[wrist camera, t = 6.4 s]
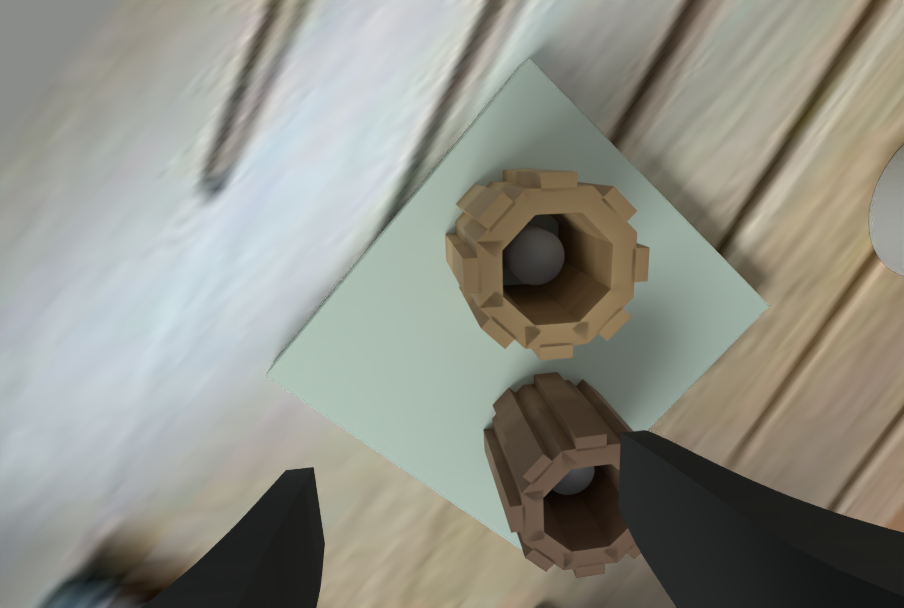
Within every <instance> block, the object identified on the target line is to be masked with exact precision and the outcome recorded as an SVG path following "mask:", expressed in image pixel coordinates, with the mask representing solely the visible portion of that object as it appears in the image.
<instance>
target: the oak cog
mask: <svg viewBox="0 0 904 608" xmlns="http://www.w3.org/2000/svg"><path fill="white" fill-rule="evenodd" d="M456 205H457V206H458V207H459V208H460V209H461V210H462V211H463V213H462V214H461V215H460V216H459V217H458V219H457V220H456V221H455V228H456V233H453V234H445V246H446V261H447V263H448V265H449V267H450V269H451V270H452V272H453V274H454V276H455V278H456V279H457V281H458V283H459V285H460V286H459V289H460V290H461V292H462V294H463V296H464V298H465V300H466V302H467V304H468V305H469V307H470V309H471V311H472V313H473V315H474V317H475V319H476V320H477V322H478V324H479V326H480V328H481V329H482V330H483V331H484V332H486V333H487V334H488V335H489V336H490V337H491V338H493V339H494V340H495V341H496V342H497V343H498V344H500V345H501V346H502V347H503V348H504V349H506V348H507V347H508V346H509V345H510V344H511V343H512V342H513V340H514V339H515V340H516V341H517V342H518V343H519V344H520V345H521V346H523V347H524V348H525V349H530V348H531V349H532V350H533V351H534V353H535V354H536V355H537V357H538V358H539V359H540V360H550V359H562V358H573V345H580V344H588V343H589V342H590V341H591V340H592V339H593V338H594V337H595V336H596V335H597V334H599V335H601V336H602V337H603V338H604V339H605V340H607V341H608V340H609V339H610V338H611V337H612V336H613V335H614V334H615V333H616V332H617V331H618V330H619V329H620V328H621V327H622V326H623V325H624V324H625V323H626V322H627V321H628V320H629V319H630V318H631V316H630V315H629V314H628V313H627V312H626V311H625V310H624V309H623V307H624V306H625V305H626V304H627V303H628V302H629V301H630V300H631V299H632V298H633V297H634V282H645V281H648V267H649V252H650V247H647V246H644V245H641V244H638V243H637V231H636V230H635V229H634V228H633V227H632V226H631V225H630V224H629V223H628V222H627V221H628V220H629V219H630V218H631V217H632V216H633V215H634V214H635V213H636V212H637V210H636V209H635V208H634V207H633V206H632V205H631V204H630V203H629V202H628V200H627V199H626V198H625V197H624V196H623V195H622V194H621V193H620V192H619V191H618V190H617V189H616V188H615V187H614V186H607V185H599V184H591V183H582V182H577V172H575V171H560V170H544V169H509V170H503V181H495V182H490V183H489V184H488V185H487V186H486V187H485V186H481V185H478V184H473V186H472V187H471V188H470V189H469V190H468V191H467V192H466V193H465V194H464V196H463V197H462V198H461V199H460V200H459V201H458V202H457V203H456ZM541 214H550V215H551V216H552V217H553V218H554V219H555V220H556V221H557V222H558V239H559V240H560V242H561V244H562V246H563V249H564V263H563V266H562V268H561V270H560V272H559V273H558V274H557V276H556V277H555V278H553V279H552V280H551V281H549V282H547V283H545V284H541V285H530V284H516V285H503V271H502V250H503V249H504V248H505V247H506V246H507V245H508V244H509V243H510V242H511V241H512V240H513V238H514V237H515V236H516V235H517V234H518V233H519V232H520V231H521V230H522V229H523V228H524V227H525V225H526V224H527V223H528V222H529V221H530V220H531V219H532V218H533V217H534V216H535V215H541Z"/></svg>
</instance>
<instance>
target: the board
mask: <svg viewBox="0 0 904 608" xmlns="http://www.w3.org/2000/svg"><path fill="white" fill-rule="evenodd" d="M509 169H544V170H560V171H575V172H577V182H582V183H591V184H599V185H607V186H614V187H615V188H616V189H617V190H618V191H619V192H620V193H621V194H622V195H623V196H624V197H625V198H626V199H627V200H628V202H629V203H630V204H631V205H632V206H633V207H634V208H635V209H636V210H637V212H636V213H635V214H634V215H633V216H632V217H631V218H630V219H629V220H628V221H627V222H628V223H629V224H630V225H631V226H632V227H633V228H634V229H635V230H636V231H637V243H638V244H641V245H644V246H647V247H650V252H649V267H648V281H645V282H634V297H633V298H632V299H631V300H630V301H629V302H628V303H627V304H626V305H625V306H624V307H623V309H624V310H625V311H626V312H627V313H628V314H629V315H630V316H631V318H630V319H629V320H628V321H627V322H626V323H625V324H624V325H623V326H622V327H621V328H620V329H619V330H618V331H617V332H616V333H615V334H614V335H613V336H612V337H611V338H610V339H609V340H608V341H607V340H605V339H604V338H603V337H602V336H601V335H599V334H597V335H596V336H595V337H594V338H593V339H592V340H591V341H590V342H589V343H588V344H580V345H573V358H562V359H550V360H540V359H539V358H538V357H537V355H536V354H535V353H534V351H533V350H532V349H531V348H530V349H525V348H524V347H523V346H521V345H520V344H519V343H518V342H517V341H516V340H515V339H514V340H513V342H512V343H511V344H510V345H509V346H508V347H507V348H506V349H504V348H503V347H502V346H501V345H500V344H498V343H497V342H496V341H495V340H494V339H493V338H491V337H490V336H489V335H488V334H487V333H486V332H484V331H483V330H482V329H481V328H480V326H479V324H478V322H477V320H476V319H475V317H474V315H473V313H472V311H471V309H470V307H469V305H468V304H467V302H466V300H465V298H464V296H463V294H462V292H461V290H460V289H459V286H460V285H459V283H458V281H457V279H456V278H455V276H454V274H453V272H452V270H451V269H450V267H449V265H448V263H447V261H446V246H445V234H453V233H456V228H455V221H456V220H457V219H458V217H459V216H460V215H461V214H462V213H463V211H462V210H461V209H460V208H459V207H458V206H457V205H456V203H457V202H458V201H459V200H460V199H461V198H462V197H463V196H464V194H465V193H466V192H467V191H468V190H469V189H470V188H471V187H472V186H473V184H478V185H481V186H485V187H486V186H487V185H488V184H489V183H490V182H495V181H503V170H509ZM563 263H564V249H563V246H562V244H561V242H560V240H559V239H558V222H557V221H556V220H555V219H554V218H553V217H552V216H551V215H550V214H541V215H535V216H534V217H533V218H532V219H531V220H530V221H529V222H528V223H527V224H526V225H525V227H524V228H523V229H522V230H521V231H520V232H519V233H518V234H517V235H516V236H515V237H514V238H513V240H512V241H511V242H510V243H509V244H508V245H507V246H506V247H505V248H504V249H503V250H502V271H503V285H516V284H530V285H541V284H545V283H547V282H549V281H551V280H552V279H553V278H555V277H556V276H557V274H558V273H559V272H560V270H561V268H562V266H563ZM768 307H769V305H768V304H767V303H766V301H765V300H764V299H763V298H762V297H761V296H760V295H759V294H758V293H757V292H756V291H755V290H754V289H753V288H752V287H751V286H750V285H749V284H748V283H747V282H746V281H745V280H744V279H743V278H742V277H741V276H740V275H739V274H738V273H737V272H736V271H735V270H734V269H733V267H732V266H731V265H730V264H729V263H728V262H727V261H726V260H725V259H724V258H723V257H722V256H721V255H720V254H719V253H718V252H717V251H716V250H715V249H714V248H713V247H712V246H711V245H710V244H709V243H708V242H707V241H706V240H705V239H704V238H703V237H702V236H701V235H700V234H699V232H698V231H697V230H696V229H695V228H694V227H693V226H692V225H691V224H690V223H689V222H688V221H687V220H686V219H685V218H684V217H683V216H682V215H681V214H680V213H679V212H678V211H677V210H676V209H675V208H674V207H673V206H672V205H671V204H670V203H669V202H668V201H667V200H666V198H665V197H664V196H663V195H662V194H661V193H660V192H659V191H658V190H657V189H656V188H655V187H654V186H653V185H652V184H651V183H650V182H649V181H648V180H647V179H646V178H645V177H644V176H643V175H642V174H641V173H640V172H639V171H638V170H637V169H636V168H635V167H634V166H633V165H632V163H631V162H630V161H629V160H628V159H627V158H626V157H625V156H624V155H623V154H622V153H621V152H620V151H619V150H618V149H617V148H616V147H615V146H614V145H613V144H612V143H611V142H610V141H609V140H608V139H607V138H606V137H605V136H604V135H603V134H602V133H601V132H600V131H599V129H598V128H597V127H596V126H595V125H594V124H593V123H592V122H591V121H590V120H589V119H588V118H587V117H586V116H585V115H584V114H583V113H582V112H581V111H580V110H579V109H578V108H577V107H576V106H575V105H574V104H573V103H572V102H571V101H570V100H569V99H568V98H567V97H566V96H565V94H564V93H563V92H562V91H561V90H560V89H559V88H558V87H557V86H556V85H555V84H554V83H553V82H552V81H551V80H550V79H549V78H548V77H547V76H546V75H545V74H544V73H543V72H542V71H541V70H540V69H539V68H538V67H537V66H536V65H535V64H534V63H533V62H532V61H531V59H530V58H529V59H527V60H526V61H525V62H523V63H522V64H521V65H520V66H519V67H518V68H517V70H516V71H515V72H514V73H513V74H512V76H511V77H510V78H509V79H508V80H507V82H506V83H505V84H504V85H503V86H502V88H501V89H500V90H499V91H498V92H497V94H496V95H495V96H494V97H493V99H492V100H491V101H490V102H489V103H488V105H487V106H486V107H485V108H484V109H483V111H482V112H481V113H480V114H479V115H478V117H477V118H476V119H475V120H474V121H473V123H472V124H471V125H470V126H469V127H468V129H467V130H466V131H465V132H464V133H463V135H462V136H461V137H460V138H459V140H458V141H457V142H456V143H455V144H454V146H453V147H452V148H451V149H450V150H449V152H448V153H447V154H446V155H445V156H444V158H443V159H442V160H441V161H440V162H439V164H438V165H437V166H436V167H435V168H434V170H433V171H432V172H431V173H430V175H429V176H428V177H427V178H426V179H425V181H424V182H423V183H422V184H421V185H420V187H419V188H418V189H417V190H416V191H415V193H414V194H413V195H412V196H411V197H410V199H409V200H408V201H407V202H406V203H405V205H404V206H403V207H402V208H401V209H400V211H399V212H398V213H397V214H396V216H395V217H394V218H393V219H392V220H391V222H390V223H389V224H388V225H387V226H386V228H385V229H384V230H383V231H382V232H381V234H380V235H379V236H378V237H377V238H376V240H375V241H374V242H373V243H372V244H371V246H370V247H369V248H368V249H367V250H366V252H365V253H364V254H363V255H362V257H361V258H360V259H359V260H358V261H357V263H356V264H355V265H354V266H353V267H352V269H351V270H350V271H349V272H348V273H347V275H346V276H345V277H344V278H343V279H342V281H341V282H340V283H339V284H338V285H337V287H336V288H335V289H334V290H333V292H332V293H331V294H330V295H329V296H328V298H327V299H326V300H325V301H324V302H323V304H322V305H321V306H320V307H319V308H318V310H317V311H316V312H315V313H314V314H313V316H312V317H311V318H310V319H309V320H308V322H307V323H306V324H305V325H304V326H303V328H302V329H301V330H300V331H299V333H298V334H297V335H296V336H295V337H294V339H293V340H292V341H291V342H290V343H289V345H288V346H287V347H286V348H285V349H284V351H283V352H282V353H281V354H280V355H279V357H278V358H277V359H276V360H275V361H274V363H273V364H272V365H271V367H270V369H269V371H268V372H267V374H266V377H268V378H269V379H271V380H272V381H274V382H275V383H276V384H278V385H279V386H281V387H282V388H284V389H285V390H287V391H288V392H290V393H291V394H293V395H294V396H296V397H297V398H299V399H300V400H301V401H303V402H304V403H306V404H307V405H309V406H310V407H312V408H313V409H315V410H316V411H318V412H319V413H321V414H322V415H324V416H325V417H326V418H328V419H329V420H331V421H332V422H334V423H335V424H337V425H338V426H340V427H341V428H343V429H344V430H346V431H347V432H349V433H350V434H352V435H353V436H354V437H356V438H357V439H359V440H360V441H362V442H363V443H365V444H366V445H368V446H369V447H371V448H372V449H374V450H375V451H377V452H378V453H379V454H381V455H382V456H384V457H385V458H387V459H388V460H390V461H391V462H393V463H394V464H396V465H397V466H399V467H400V468H402V469H403V470H404V471H406V472H407V473H409V474H410V475H412V476H413V477H415V478H416V479H418V480H419V481H421V482H422V483H424V484H425V485H427V486H428V487H429V488H431V489H432V490H434V491H435V492H437V493H438V494H440V495H441V496H443V497H444V498H446V499H447V500H449V501H450V502H452V503H453V504H454V505H456V506H457V507H459V508H460V509H462V510H463V511H465V512H466V513H468V514H469V515H471V516H472V517H474V518H475V519H477V520H478V521H480V522H481V523H482V524H484V525H485V526H487V527H488V528H490V529H491V530H493V531H494V532H496V533H497V534H499V535H500V536H502V537H503V538H505V539H506V540H507V541H509V542H510V543H512V544H513V545H515V546H516V547H518V548H519V549H521V550H522V547H521V544H520V541H519V538H518V535H517V532H514V533H511V531H510V528H509V525H508V522H507V519H506V515H505V512H504V509H503V506H502V503H501V500H500V497H499V494H498V491H497V488H496V485H495V481H494V478H493V475H492V472H491V469H490V466H489V463H488V460H487V457H486V454H485V450H484V433H483V429H490V428H493V423H492V418H493V417H494V416H495V415H496V412H495V410H494V408H493V404H494V403H495V402H496V401H497V400H498V399H499V397H500V396H501V395H502V394H503V393H504V392H505V391H506V390H507V389H508V388H510V389H511V390H513V391H514V392H515V393H516V392H517V391H518V390H519V389H520V388H521V387H522V386H523V385H526V384H534V375H535V374H544V373H553V372H558V373H559V374H560V375H561V377H562V378H563V379H564V380H570V381H571V382H572V383H573V384H574V385H576V386H577V384H578V383H579V382H580V381H581V380H582V379H583V380H585V381H586V382H587V383H588V384H589V385H591V386H592V387H593V388H594V389H595V390H597V391H598V392H599V393H600V394H601V395H602V396H603V397H604V399H605V400H606V401H607V402H608V403H609V404H610V405H611V406H612V408H613V409H614V410H615V411H616V412H617V413H618V414H619V415H620V416H621V418H622V419H623V420H624V421H625V422H626V423H627V424H628V425H629V427H630V428H631V429H632V430H633V431H642V430H646V431H647V430H648V429H649V428H650V427H651V426H652V425H653V424H654V423H655V422H656V421H657V420H658V419H659V418H660V417H661V416H662V415H663V414H664V413H665V412H666V411H667V410H668V409H669V408H670V407H671V406H672V405H673V404H674V403H675V402H676V401H677V400H678V399H679V398H680V397H681V396H682V395H683V394H684V393H685V392H686V391H687V390H688V389H689V388H690V386H691V385H692V384H693V383H694V382H695V381H696V380H697V379H698V378H699V377H700V376H701V375H702V374H703V373H704V372H705V371H706V370H707V369H708V368H709V367H710V366H711V365H712V364H713V363H714V362H715V361H716V360H717V359H718V358H719V357H720V356H721V355H722V354H723V353H724V352H725V351H726V350H727V349H728V348H729V347H730V346H731V345H732V344H733V343H734V342H735V341H736V340H737V339H738V338H739V337H740V336H741V335H742V334H743V332H744V331H745V330H746V329H747V328H748V327H749V326H750V325H751V324H752V323H753V322H754V321H755V320H756V319H757V318H758V317H759V316H760V315H761V314H762V313H763V312H764V311H765V310H766V309H767V308H768ZM593 476H594V466H591V467H583V468H576V469H571V470H570V471H569V472H568V473H567V474H566V475H565V476H564V477H563V478H562V479H561V480H560V481H559V482H558V483H557V484H556V485H555V486H554V487H553V488H552V489H553V490H554V491H555V492H557V493H559V494H563V495H572V494H576V493H578V492H580V491H582V490H584V489H585V488H586V487H587V486H588V485H589V484H590V483H591V481H592V479H593ZM522 551H523V550H522Z"/></svg>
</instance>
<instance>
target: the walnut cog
mask: <svg viewBox="0 0 904 608" xmlns="http://www.w3.org/2000/svg"><path fill="white" fill-rule="evenodd" d="M493 408H494V410H495V412H496V415H495V416H494V417H493V418H492V423H493V428H490V429H483V433H484V450H485V454H486V457H487V460H488V463H489V466H490V469H491V472H492V475H493V478H494V481H495V485H496V488H497V491H498V494H499V497H500V500H501V503H502V506H503V509H504V512H505V515H506V519H507V522H508V525H509V528H510V531H511V533H514V532H517V535H518V538H519V541H520V544H521V547H522V550H523V553H524V556H525V558H527V559H528V560H530V561H531V562H533V563H534V564H535V565H537V566H538V567H540V568H541V569H543V570H544V571H547V570H548V569H549V568H550V567H551V566H552V565H553V564H555V565H557V566H558V567H560V568H561V569H563V570H568V569H573V571H574V573H575V576H576V578H578V577H584V576H591V575H598V574H605V564H608V563H615V562H618V561H619V560H620V559H621V558H622V557H623V556H624V555H625V554H626V553H627V554H629V555H630V556H631V557H633V558H634V559H635V558H636V557H637V556H638V555H639V554H640V553H641V552H640V550H639V549H638V547H637V545H636V543H635V541H634V539H633V537H632V535H631V533H630V531H629V529H628V527H627V525H626V523H625V520H624V518H623V516H622V514H621V512H620V510H619V507H618V499H619V470H620V440H621V433H624V432H633V430H632V429H631V428H630V427H629V425H628V424H627V423H626V422H625V421H624V420H623V419H622V418H621V416H620V415H619V414H618V413H617V412H616V411H615V410H614V409H613V408H612V406H611V405H610V404H609V403H608V402H607V401H606V400H605V399H604V397H603V396H602V395H601V394H600V393H599V392H598V391H597V390H595V389H594V388H593V387H592V386H591V385H589V384H588V383H587V382H586V381H585V380H583V379H582V380H581V381H580V382H579V383H578V384H577V386H576V385H574V384H573V383H572V382H571V381H570V380H564V379H563V378H562V377H561V375H560V374H559V373H558V372H553V373H544V374H535V375H534V384H526V385H523V386H522V387H521V388H520V389H519V390H518V391H517V392H516V393H515V392H514V391H513V390H511V389H510V388H508V389H507V390H506V391H505V392H504V393H503V394H502V395H501V396H500V397H499V399H498V400H497V401H496V402H495V403H494V404H493ZM591 466H594V476H593V479H592V481H591V483H590V484H589V485H588V486H587V487H586V488H585V489H584V490H582V491H580V492H578V493H576V494H572V495H563V494H559V493H557V492H555V491H554V490H553V489H552V488H553V487H554V486H555V485H556V484H557V483H558V482H559V481H560V480H561V479H562V478H563V477H564V476H565V475H566V474H567V473H568V472H569V471H570V470H571V469H576V468H583V467H591Z"/></svg>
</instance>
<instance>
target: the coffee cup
mask: <svg viewBox="0 0 904 608" xmlns="http://www.w3.org/2000/svg"><path fill="white" fill-rule="evenodd" d="M869 231H870V237H871V241H872V245H873V247H874V250H875V252H876V254H877V256H878V257H879V259H880V260H881V261H882V262H883V264H884V265H886V266H887V267H888V268H889V269H890V270H892V271H893V272H895V273H897V274H899V275H902V276H904V145H903V146H902V147H901V148H900V149H899V150H898V151H897V152H896V154H895V155H894V156H893V157H892V159H891V160H890V162H889V163H888V165H887V166H886V168H885V169H884V171H883V173H882V175H881V177H880V179H879V181H878V183H877V186H876V188H875V191H874V194H873V197H872V201H871V206H870V213H869Z"/></svg>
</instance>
